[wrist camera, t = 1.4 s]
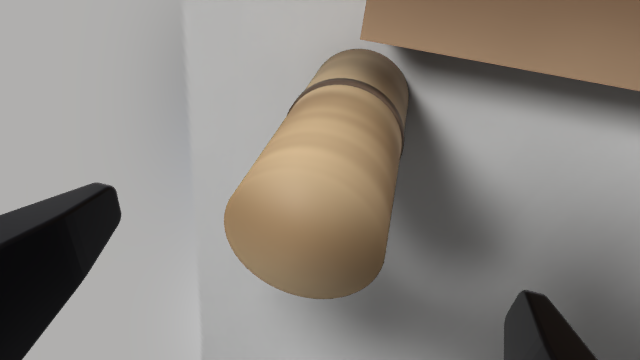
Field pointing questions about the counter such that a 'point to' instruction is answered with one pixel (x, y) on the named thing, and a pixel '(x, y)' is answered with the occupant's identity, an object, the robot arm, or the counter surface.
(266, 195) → the peg
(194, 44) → the counter surface
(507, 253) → the counter surface
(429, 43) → the board
